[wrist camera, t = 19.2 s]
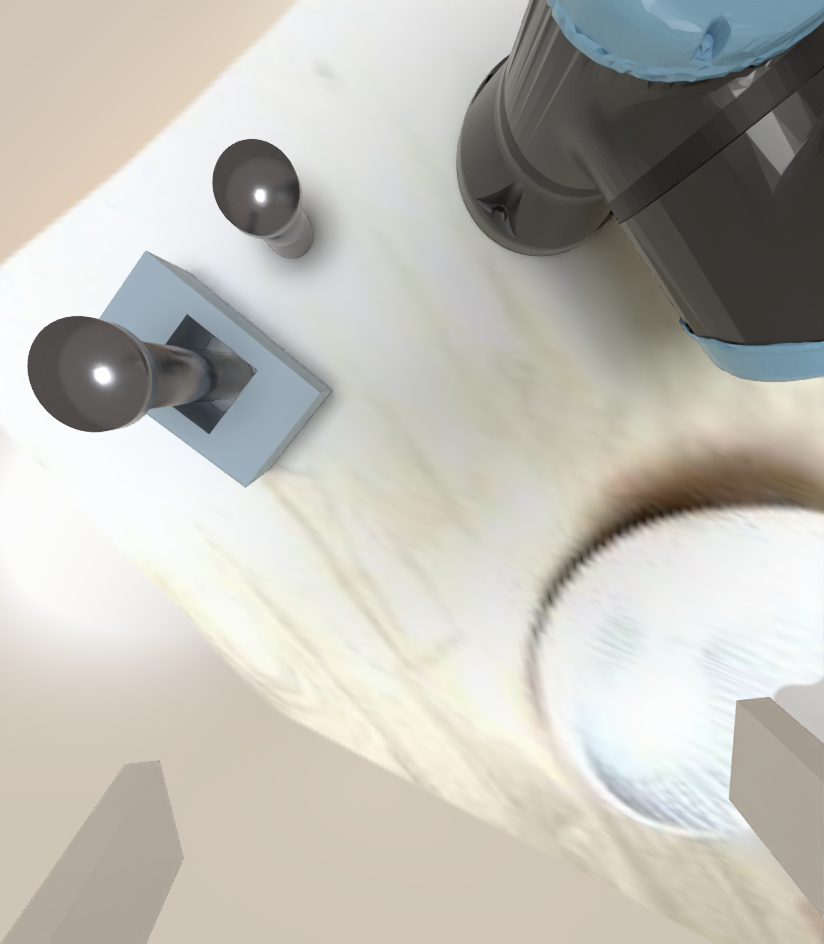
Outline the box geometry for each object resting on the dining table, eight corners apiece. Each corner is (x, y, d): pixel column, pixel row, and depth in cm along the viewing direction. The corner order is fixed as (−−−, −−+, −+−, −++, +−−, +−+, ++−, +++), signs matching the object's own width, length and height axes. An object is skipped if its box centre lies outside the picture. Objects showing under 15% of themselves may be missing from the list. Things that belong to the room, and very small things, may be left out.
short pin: (317, 196, 39) (292, 135, 29) (326, 265, 40) (304, 229, 30) (253, 201, 39) (205, 142, 29) (263, 270, 40) (220, 236, 30)
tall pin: (256, 342, 41) (131, 311, 22) (265, 403, 42) (155, 426, 23) (195, 347, 41) (13, 321, 22) (206, 408, 42) (44, 437, 23)
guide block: (332, 390, 42) (320, 392, 35) (268, 470, 44) (245, 487, 37) (188, 272, 40) (145, 250, 33) (125, 361, 41) (72, 358, 34)
